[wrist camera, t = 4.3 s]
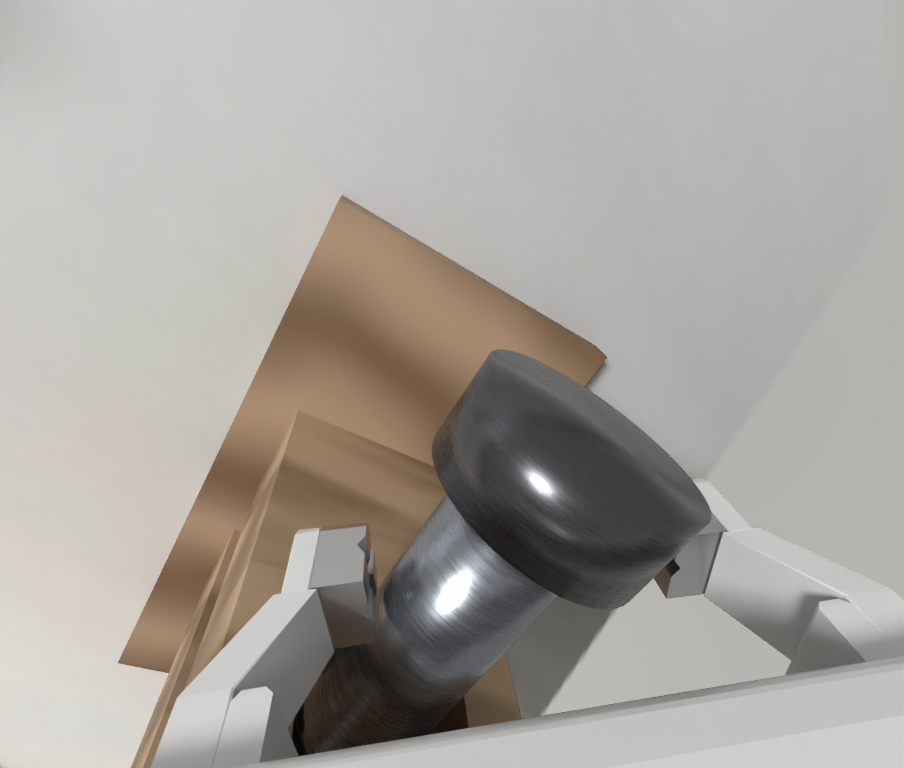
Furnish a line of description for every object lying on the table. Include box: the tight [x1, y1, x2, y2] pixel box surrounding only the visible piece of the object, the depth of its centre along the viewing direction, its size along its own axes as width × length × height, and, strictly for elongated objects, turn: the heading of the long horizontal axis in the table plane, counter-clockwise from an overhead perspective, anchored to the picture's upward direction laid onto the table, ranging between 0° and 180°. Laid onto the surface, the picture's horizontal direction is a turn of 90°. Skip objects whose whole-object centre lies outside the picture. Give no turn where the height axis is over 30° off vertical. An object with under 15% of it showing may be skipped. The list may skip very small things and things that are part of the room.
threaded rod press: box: [118, 195, 607, 768], centre depth 16 cm, size 26×12×15 cm, turn 148°
